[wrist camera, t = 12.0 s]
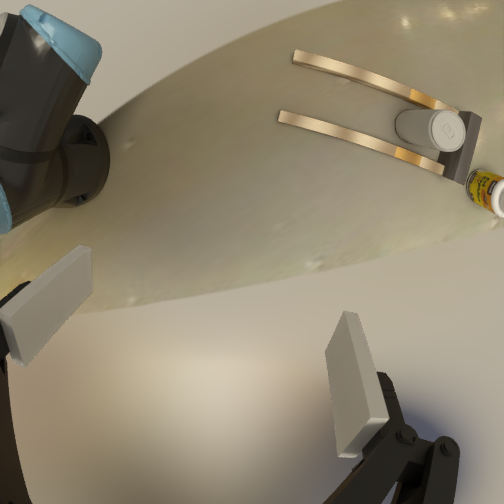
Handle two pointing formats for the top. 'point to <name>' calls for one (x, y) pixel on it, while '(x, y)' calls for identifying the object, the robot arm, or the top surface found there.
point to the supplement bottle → (487, 191)
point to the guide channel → (448, 162)
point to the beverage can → (431, 129)
